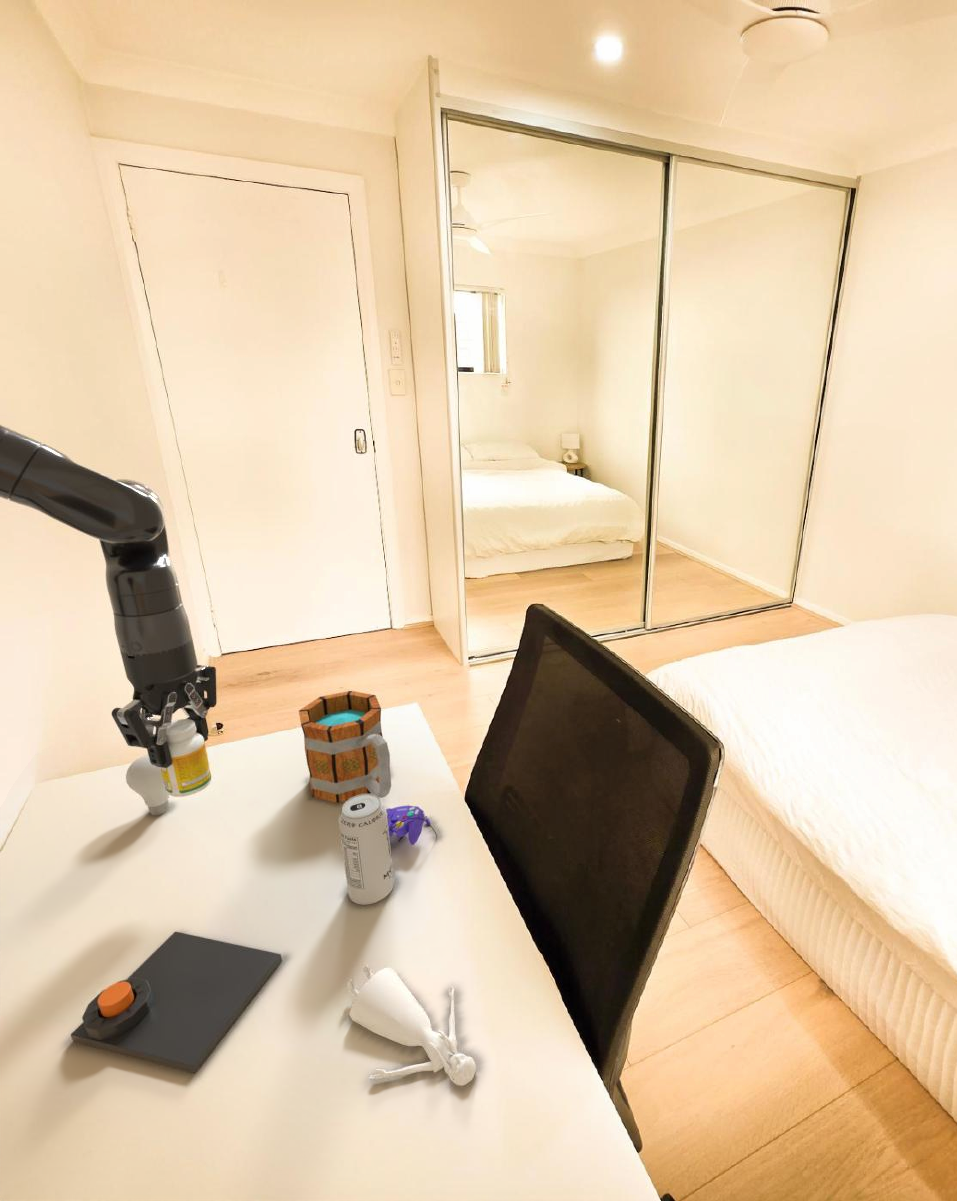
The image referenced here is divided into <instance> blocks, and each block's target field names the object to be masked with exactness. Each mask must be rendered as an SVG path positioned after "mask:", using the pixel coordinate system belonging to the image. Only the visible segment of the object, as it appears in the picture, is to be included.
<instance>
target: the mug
mask: <svg viewBox="0 0 957 1201" xmlns="http://www.w3.org/2000/svg"><path fill="white" fill-rule="evenodd" d="M298 715H299V721H300V726H301V729H302V733H303V741H304V742H303V744H304V754H305V759H306V764H307V768H308V771H309V784H310V789H311V790H310V791H311V795H312V798H314V799H319V800H323V801H327V802H332V803H337V804H340V803H345V802H346V801H347V800H349V799H350V798H352V797H354V796H357V795H360V794H374V795H376V796H378V797H379V798H380V799H382V798H385V797H387V796H388V795H389V794H390V791H391V788H392V775H391V752H390V749H389V745H388V742H387V741H386V739H385V738H384V736H383V731H382V722H381V721H382V720H381V715H382V707H381V704H380V702H379V700H378V698H377V696H376V694H371V693H365V692H359V691H354V690H347V691H343V692H337V693H332V694H327V695H321V696H319V697H317V698H316V699H314V700H312V701H311V702H310V703H308V704H307V705H305V706H303V707H302V708H301V709H299V710H298Z"/></svg>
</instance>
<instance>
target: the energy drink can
mask: <svg viewBox="0 0 957 1201" xmlns="http://www.w3.org/2000/svg"><path fill="white" fill-rule="evenodd" d="M386 809H387V807H386V806H385V805H384V803H382V800H381V798H379V797H378V796H376V795H374V794H372V793H371V794H360V795H357V796H354V797H352V798H350V799H349V800H347V801H344V802H343V805H342V807H341V813H340V815H339V816H338V820H337V821H338V828H339V835H340V836H339V837H340V843H341V850H342V857H343V863H344V865H343V866H344V871H345V872H344V873H345V878H346V884H347V893H348V897H349V900H351V902H353V903H355V904H357V905H365V906H366V905H372V904H376V903H378V902H381V901H382V900H384V899H385V898H386V897H387V896H388V895H389V894H390V893H391V892H392V890H393V888H394V887H395V878H394V869H393V859H392V850H391V842H390V840H391V839H390V837H389V829H388V820H387V811H386Z"/></svg>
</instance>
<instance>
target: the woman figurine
mask: <svg viewBox="0 0 957 1201" xmlns="http://www.w3.org/2000/svg"><path fill="white" fill-rule="evenodd" d="M363 972H364V975H365V977H366V978H367V981H366V982H365V983H364V984H363V985H362V987H361V988H360V989H357V988H356V986H355V984H354V982H353V979H350V980H349V981H348V982H347V983H346V984H347V985H346V987H347V990H348V992H349V994H351V996H353V998H354V999H353V1001H352V1005H351V1007H350V1010H349V1012H348V1016H349V1017H350V1019H351V1020H352V1021H353V1022H355V1023H356V1024H358V1025H359V1026H362V1027H363V1028H365V1029H367V1030H369V1031H370V1032H371V1033H374V1034H376V1035H379V1036H381V1037H383V1038H385V1039H388V1040H390V1041H392V1042H395V1043H397V1044H401V1045H403V1046H407V1047H422V1048H423V1049H424V1051H425V1053H426V1055H427V1057H428V1058H429V1061H427V1062H424V1063H423V1062H422V1063H418V1064H412V1065H408V1066H404V1067H402V1068H399V1069H395V1070H389V1071H387V1070H385V1069H383V1068H376V1071H378V1073H377V1074H370V1076H369V1079H372V1080H380V1079H383V1078H390V1077H395V1076H404V1075H412V1074H414V1073H419V1072H420V1073H422V1072H433V1074H435V1073H437V1072H438V1071H440V1070H442V1069H443V1070H444V1072H445V1074H447V1076H448V1077H449V1078H450V1081H452V1083H454V1084H455V1085H456V1086H461V1087H462V1086H465V1085H468V1084H469V1083H470V1082H471V1081H472V1080H473V1079H474V1076H475V1074H476V1071H477V1065H476V1063H475V1059H473V1057H472V1056H467V1055H465V1054H463V1053H461V1052H459V1051H458V1044H459V1041H457V1037H456V1018H455V989H454V985H452V986H451V989H448V995H449V998H450V1014H449V1019H448V1036H447V1035H446V1034H445V1032H444V1031H442V1030H439V1029H438V1030H437V1031H438V1032H437V1031H433V1028H432V1024H431V1023H432V1022H431V1019H430V1017H429V1016H428V1014H427V1012H426V1011H425V1009H424V1008H423V1007H422V1005H421V1004H420V1003H419V1001H418V1000H417V999H416V997H415V996H414V995H413V994H412V992H411V990H410V989H409V988H408V987H407V986H406V984H405V983H404V982H403V980H402V979H401V977H400V976H399V975H398V974H397V972H396V971H395V970H394V969H392V968H391V967H389V966H387V967H385V968H381V969H380V970H378V971H377V972H375V973H374V974H373V972H372V971H371V969H370V966H369V965H368V964H366V966H364V967H363Z"/></svg>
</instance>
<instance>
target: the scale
mask: <svg viewBox="0 0 957 1201" xmlns="http://www.w3.org/2000/svg"><path fill="white" fill-rule="evenodd" d="M282 958H283V957H282V954H281V953H277V952H272V951H267V950H263V949H259V948H254V947H250V946H245V945H239V944H235V943H230V942H226V941H221V940H217V939H212V938H207V937H203V936H198V935H193V934H189V933H184V932H180V931H174V932H173V933H172V934H171V935H170V936H169V937H168V938H167V939H166V940H165V941H164V942H163V943H162V944H160V946H159V947H157V949H156V950H155V951H153V952H152V953H151V955H150V956H149V957H147V958H146V959H145V960H144V962H143V963H141V965H139V967H137V969H135V971H133V972H132V973H131V975H129V976H128V977H127V978H126V979H123V980H119V981H117V982H116V983H118V982H128V983H129V984H130V986H131V989H132V992H133V995H134V1000H133V1003H132V1004H131V1006H130V1007H129V1008H128V1009H127V1010H126V1011H124V1012H122V1013H121V1014H119V1015H117V1016H115V1017H110V1018H107V1017H104V1016H103V1015H102V1014H101V1011H100V1008H99V1005H98V998H99V996H100V995H101V993H102V992H103V991H104V990H105V989H107V988H108V987H106V988H105V989H103V990H102V991H100V992H99V994H97V995H96V996H95V997H94V998H93V999H92V1000H90V1002H89V1003H88V1005H87V1007H86V1008H85V1010H84V1013H83V1015H82V1016H81V1017H82V1018H81V1019H82V1021H83V1022H81V1024H80V1025H79V1026H77V1028H76V1029H74V1030H73V1031H72V1032H71V1033H70V1037H71V1040H72V1042H73V1043H75V1044H80V1045H84V1046H87V1047H90V1048H91V1047H92V1048H95V1049H99V1050H103V1051H106V1052H111V1053H114V1054H118V1055H122V1056H126V1057H129V1058H134V1059H137V1060H142V1061H145V1062H149V1063H153V1064H157V1065H159V1066H160V1065H161V1066H164V1067H168V1068H172V1069H176V1070H179V1071H180V1070H181V1071H183V1072H188V1073H190V1074H196V1073H198V1070H199V1069H200V1068H201V1067H202V1066H203V1064H204V1063H205V1061H206V1060H207V1059H208V1058H209V1056H210V1055H211V1054H212V1052H214V1050H215V1048H216V1047H217V1046H218V1045H219V1044H220V1042H221V1041H222V1040H223V1038H224V1037H225V1036H226V1035H227V1033H228V1032H229V1031H230V1029H231V1028H232V1027H233V1026H234V1024H235V1023H236V1021H237V1020H238V1019H239V1018H240V1016H241V1015H242V1014H243V1012H244V1011H245V1010H246V1009H247V1007H248V1006H249V1005H250V1003H251V1002H252V1001H253V999H254V998H255V997H256V996H257V994H258V993H259V992H260V991H261V989H262V988H263V986H264V985H265V984H266V983H267V982H268V980H269V979H270V977H271V976H272V975H273V973H274V972H275V971H276V970H277V968H278V967H279V966H280V964H281V963H282V962H283V959H282Z"/></svg>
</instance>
